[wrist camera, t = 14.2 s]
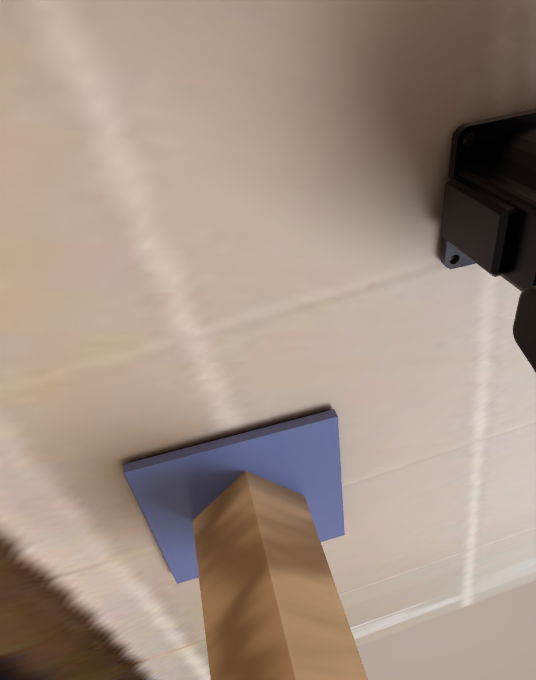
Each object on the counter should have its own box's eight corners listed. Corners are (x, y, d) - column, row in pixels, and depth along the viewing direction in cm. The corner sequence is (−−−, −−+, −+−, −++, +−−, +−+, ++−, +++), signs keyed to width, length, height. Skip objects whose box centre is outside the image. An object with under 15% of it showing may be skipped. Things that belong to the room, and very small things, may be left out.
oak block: (245, 470, 28) (304, 716, 18) (304, 495, 31) (382, 721, 21) (192, 520, 30) (221, 771, 20) (252, 540, 32) (304, 770, 23)
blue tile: (334, 409, 28) (337, 416, 27) (341, 527, 35) (344, 534, 34) (123, 464, 26) (123, 472, 26) (176, 575, 34) (177, 583, 33)
